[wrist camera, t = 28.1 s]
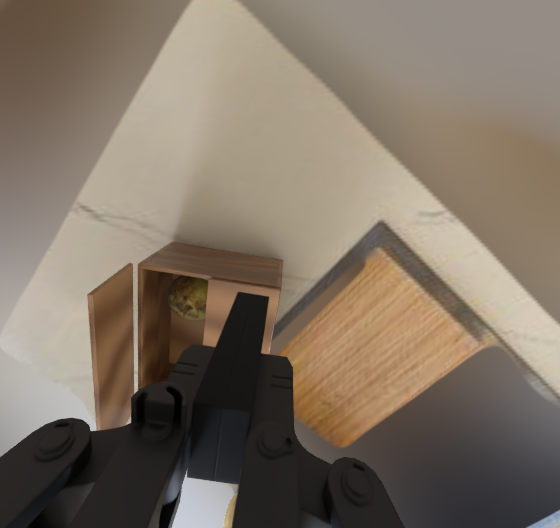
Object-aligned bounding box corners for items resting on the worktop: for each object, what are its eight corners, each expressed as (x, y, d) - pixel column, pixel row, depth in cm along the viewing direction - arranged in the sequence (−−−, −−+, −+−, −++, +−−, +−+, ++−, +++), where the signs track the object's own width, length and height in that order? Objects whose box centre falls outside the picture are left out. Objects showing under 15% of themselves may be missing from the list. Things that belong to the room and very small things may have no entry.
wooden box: (165, 240, 40) (79, 292, 23) (282, 260, 40) (278, 324, 24) (161, 361, 47) (92, 467, 30) (262, 377, 47) (248, 489, 31)
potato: (261, 319, 43) (255, 352, 35) (179, 293, 42) (154, 321, 34) (278, 271, 40) (276, 295, 33) (191, 242, 39) (168, 260, 32)
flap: (209, 277, 31) (208, 279, 30) (280, 288, 31) (280, 290, 31) (196, 421, 38) (195, 423, 37) (255, 429, 38) (254, 431, 37)
